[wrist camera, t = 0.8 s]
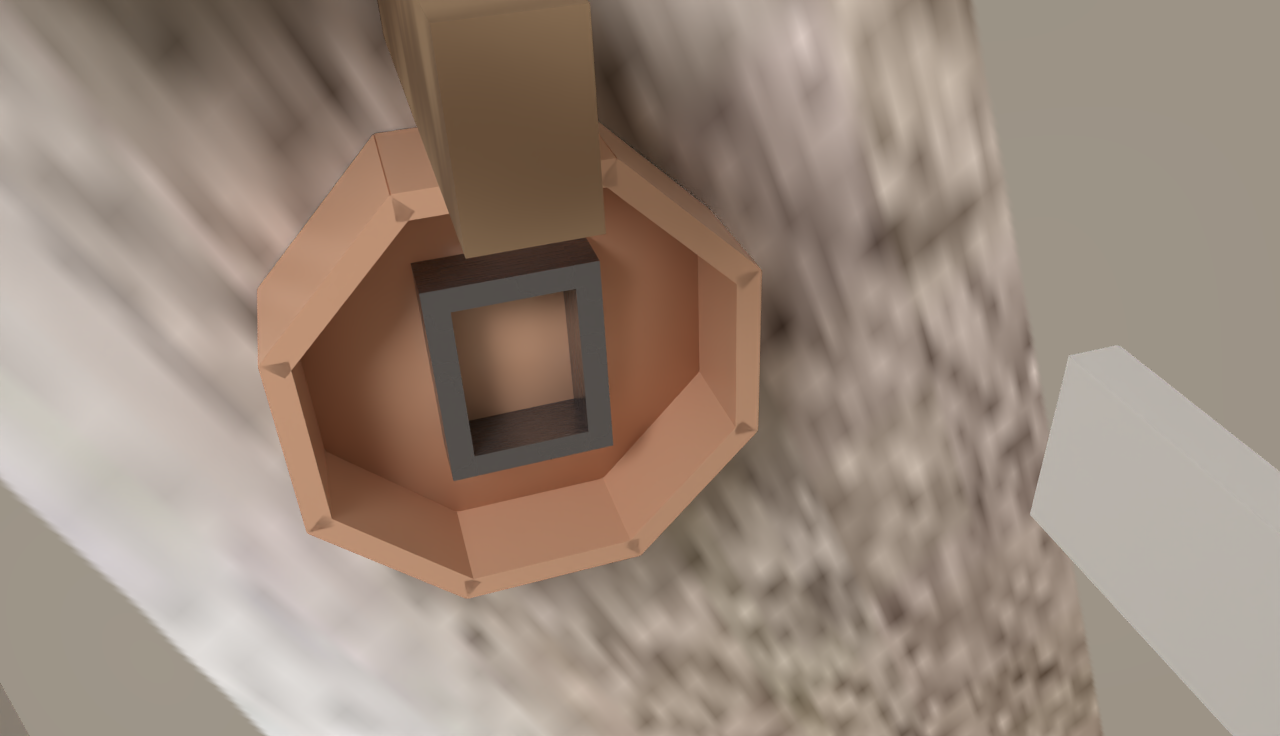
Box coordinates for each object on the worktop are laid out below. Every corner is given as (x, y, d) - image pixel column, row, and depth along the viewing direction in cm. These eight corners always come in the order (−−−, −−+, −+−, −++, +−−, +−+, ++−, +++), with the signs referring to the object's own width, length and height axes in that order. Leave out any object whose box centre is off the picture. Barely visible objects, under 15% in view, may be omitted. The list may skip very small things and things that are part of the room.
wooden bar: (356, -121, 27) (429, 22, 16) (452, -130, 28) (589, 3, 17) (384, 36, 29) (465, 258, 18) (472, 24, 30) (606, 233, 19)
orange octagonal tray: (219, 156, 30) (215, 222, 26) (708, 83, 33) (765, 133, 29) (327, 540, 38) (335, 631, 34) (711, 452, 41) (756, 526, 38)
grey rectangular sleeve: (410, 262, 32) (419, 293, 31) (582, 232, 33) (599, 260, 32) (444, 445, 36) (453, 481, 34) (597, 412, 37) (613, 445, 36)
